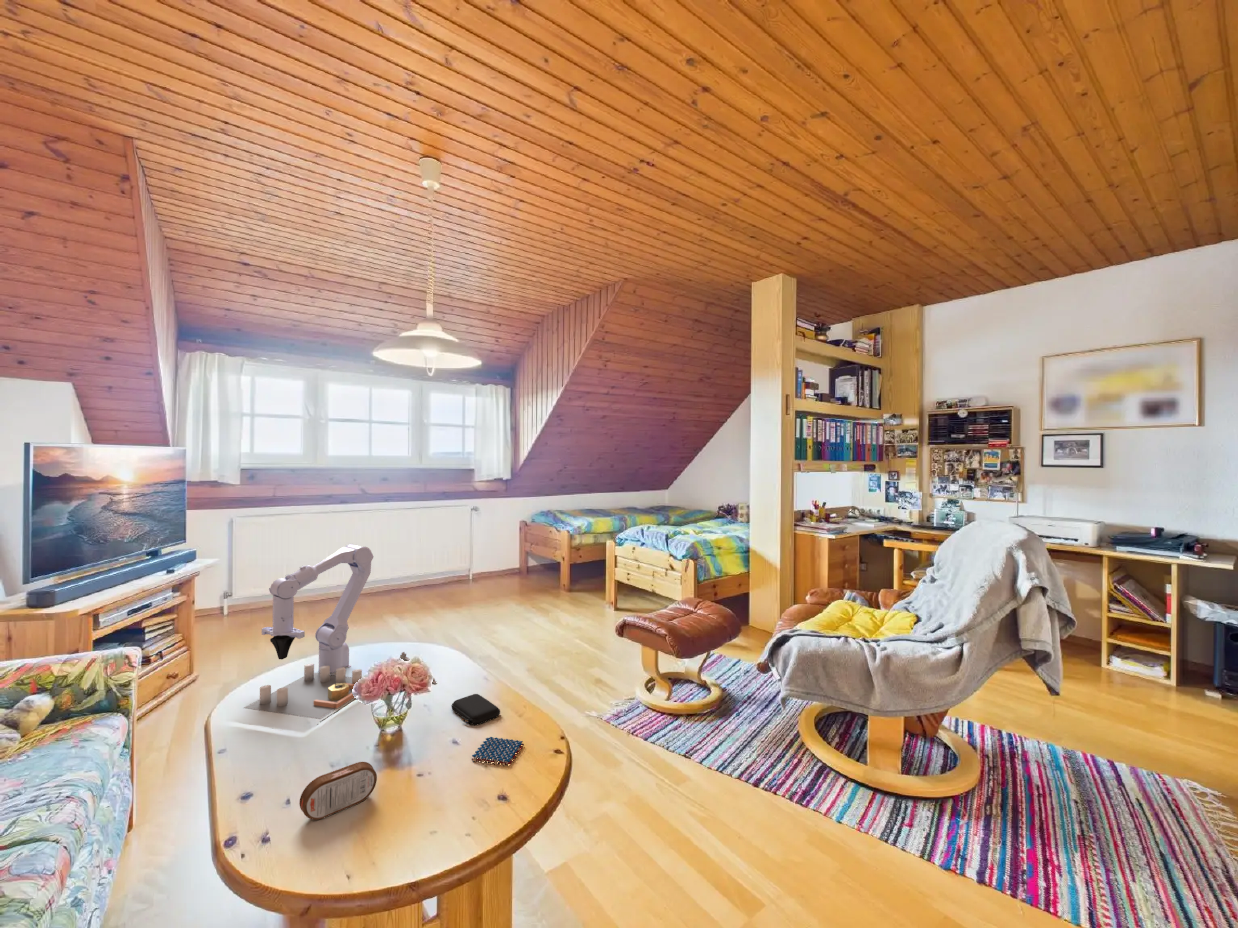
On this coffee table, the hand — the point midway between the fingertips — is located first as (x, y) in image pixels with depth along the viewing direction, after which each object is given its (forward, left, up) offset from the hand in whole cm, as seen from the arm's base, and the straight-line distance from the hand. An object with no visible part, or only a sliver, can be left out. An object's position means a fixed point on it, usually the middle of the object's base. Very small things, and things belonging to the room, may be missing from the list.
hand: (282, 658), depth 173 cm
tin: (+46, +59, -10) cm, 75 cm away
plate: (+3, +15, -9) cm, 18 cm away
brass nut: (+3, +23, -8) cm, 25 cm away
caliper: (-19, +36, -10) cm, 42 cm away
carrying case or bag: (0, +67, -10) cm, 68 cm away
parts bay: (+3, +24, -8) cm, 26 cm away
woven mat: (+18, +83, -10) cm, 86 cm away
